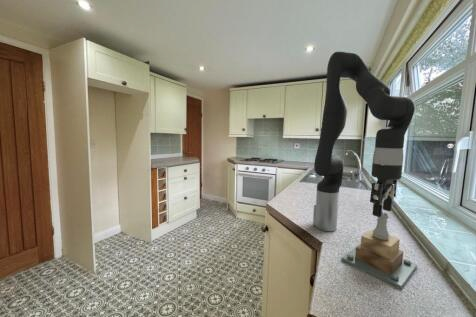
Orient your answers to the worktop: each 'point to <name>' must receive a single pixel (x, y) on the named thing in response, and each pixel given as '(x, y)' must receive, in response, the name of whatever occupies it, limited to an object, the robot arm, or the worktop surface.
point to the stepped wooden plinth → (380, 252)
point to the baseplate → (394, 279)
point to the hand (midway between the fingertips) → (382, 213)
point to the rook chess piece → (381, 228)
